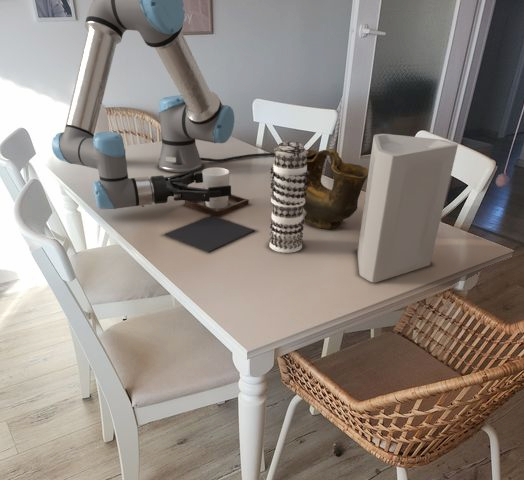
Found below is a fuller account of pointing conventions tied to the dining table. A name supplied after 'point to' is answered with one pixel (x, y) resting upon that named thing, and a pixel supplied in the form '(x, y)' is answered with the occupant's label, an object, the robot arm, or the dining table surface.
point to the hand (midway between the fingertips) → (223, 183)
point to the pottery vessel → (331, 201)
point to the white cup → (216, 185)
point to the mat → (209, 233)
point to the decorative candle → (288, 196)
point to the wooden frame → (240, 204)
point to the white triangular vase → (403, 204)
